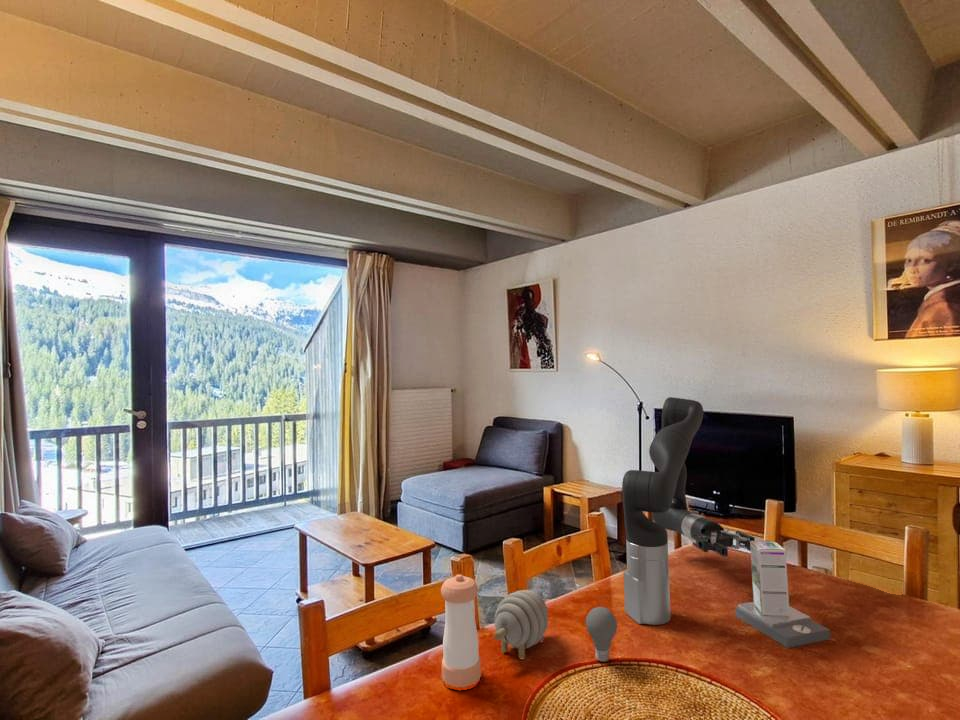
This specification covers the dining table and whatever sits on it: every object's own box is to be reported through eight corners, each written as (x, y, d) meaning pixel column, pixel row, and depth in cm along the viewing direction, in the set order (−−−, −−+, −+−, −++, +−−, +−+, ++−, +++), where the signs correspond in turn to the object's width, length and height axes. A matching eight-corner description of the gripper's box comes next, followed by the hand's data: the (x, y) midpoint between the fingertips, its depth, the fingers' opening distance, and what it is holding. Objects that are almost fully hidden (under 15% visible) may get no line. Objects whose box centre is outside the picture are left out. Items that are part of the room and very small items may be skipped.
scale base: (787, 647, 100) (786, 636, 100) (735, 616, 114) (735, 605, 114) (830, 639, 103) (829, 628, 103) (774, 609, 117) (774, 599, 117)
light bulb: (596, 671, 94) (594, 617, 94) (581, 654, 100) (580, 604, 100) (624, 665, 96) (622, 612, 96) (608, 649, 101) (606, 599, 102)
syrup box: (790, 617, 107) (787, 549, 108) (761, 615, 108) (758, 548, 109) (780, 605, 113) (777, 540, 113) (751, 603, 114) (749, 539, 114)
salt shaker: (436, 688, 90) (434, 581, 91) (448, 665, 97) (446, 566, 98) (475, 693, 88) (473, 584, 89) (484, 670, 95) (482, 569, 96)
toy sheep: (560, 636, 107) (559, 584, 107) (525, 677, 93) (524, 617, 93) (517, 624, 113) (515, 574, 113) (477, 661, 98) (476, 604, 99)
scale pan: (772, 627, 104) (772, 624, 105) (738, 607, 114) (738, 604, 114) (810, 620, 107) (810, 617, 107) (774, 601, 116) (773, 598, 116)
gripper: (677, 518, 135) (715, 537, 119) (725, 515, 137) (768, 533, 121) (678, 546, 135) (716, 569, 119) (726, 542, 137) (769, 564, 121)
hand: (742, 551), depth 120 cm, fingers open, 8 cm apart
